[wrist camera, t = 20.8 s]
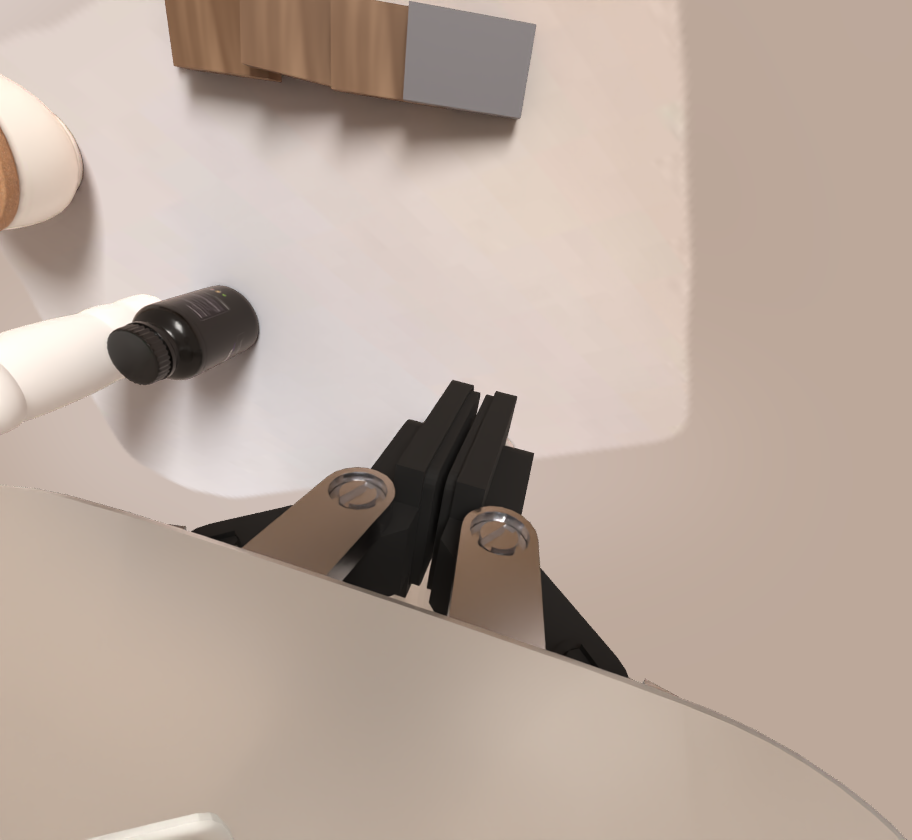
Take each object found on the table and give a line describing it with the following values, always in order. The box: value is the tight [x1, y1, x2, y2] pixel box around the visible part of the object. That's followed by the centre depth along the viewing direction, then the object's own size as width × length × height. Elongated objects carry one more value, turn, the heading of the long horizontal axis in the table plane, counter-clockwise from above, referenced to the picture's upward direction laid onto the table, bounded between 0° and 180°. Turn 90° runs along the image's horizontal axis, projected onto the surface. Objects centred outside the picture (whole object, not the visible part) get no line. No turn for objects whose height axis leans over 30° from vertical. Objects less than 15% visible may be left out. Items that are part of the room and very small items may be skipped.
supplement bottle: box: [107, 285, 259, 385], centre depth 42 cm, size 7×7×12 cm
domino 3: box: [331, 0, 447, 109], centre depth 32 cm, size 2×5×8 cm
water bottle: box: [0, 294, 162, 435], centre depth 39 cm, size 7×7×25 cm
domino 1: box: [165, 0, 282, 82], centre depth 34 cm, size 2×5×8 cm
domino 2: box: [240, 0, 331, 87], centre depth 32 cm, size 2×5×8 cm
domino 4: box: [403, 1, 536, 119], centre depth 31 cm, size 2×5×8 cm
